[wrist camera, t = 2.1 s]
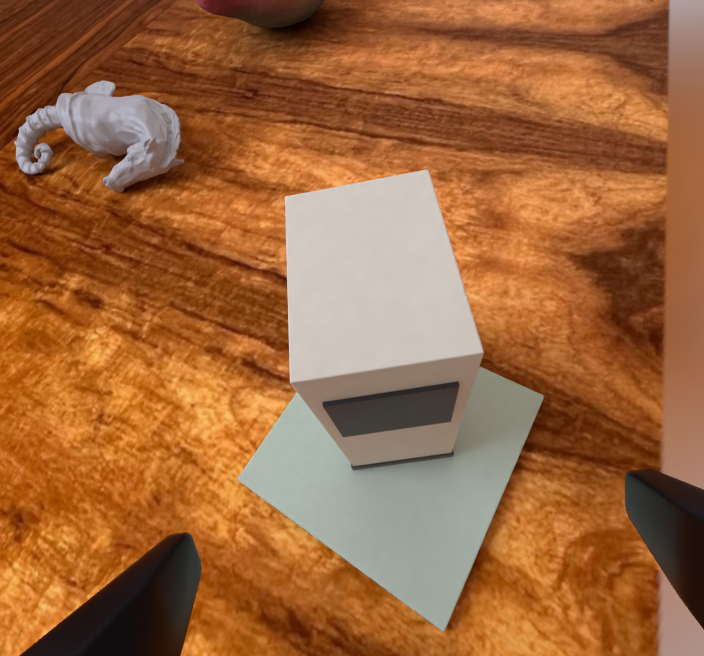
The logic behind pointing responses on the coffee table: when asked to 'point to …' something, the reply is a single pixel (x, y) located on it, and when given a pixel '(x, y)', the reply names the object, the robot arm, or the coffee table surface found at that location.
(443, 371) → the white tilted block
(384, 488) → the mat
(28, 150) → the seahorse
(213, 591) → the coffee table surface
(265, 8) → the bowl
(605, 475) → the coffee table surface
